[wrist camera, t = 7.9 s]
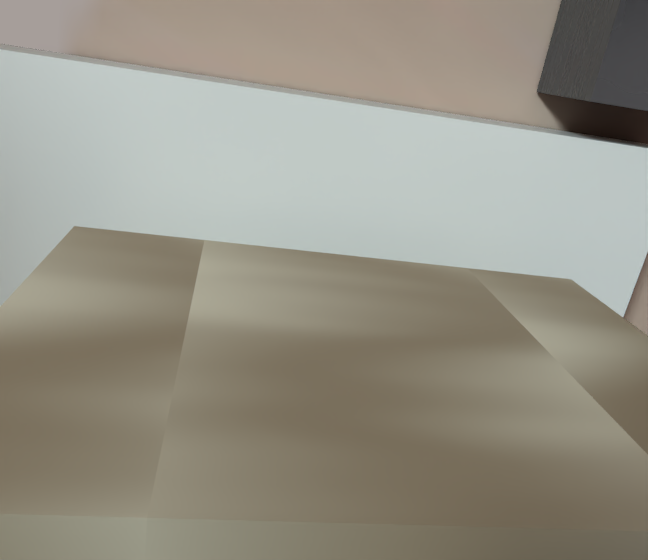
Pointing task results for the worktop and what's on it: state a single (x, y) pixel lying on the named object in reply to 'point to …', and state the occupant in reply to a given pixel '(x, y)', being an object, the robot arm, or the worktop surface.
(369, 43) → the worktop surface
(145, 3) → the worktop surface
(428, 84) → the worktop surface
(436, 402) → the collar
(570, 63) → the post stand
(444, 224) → the tile pad
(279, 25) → the worktop surface
